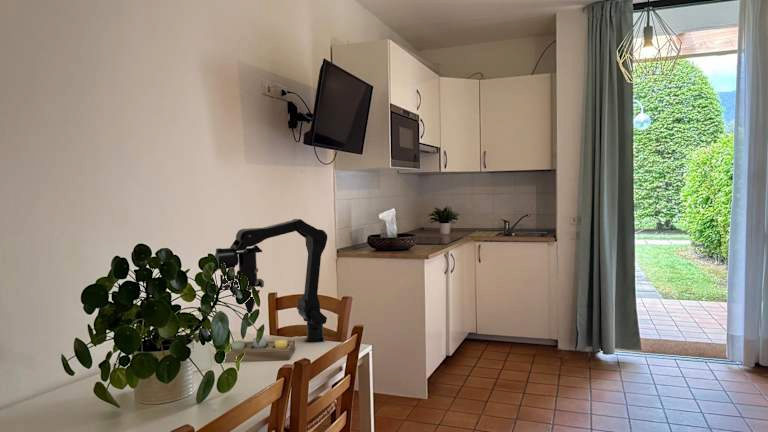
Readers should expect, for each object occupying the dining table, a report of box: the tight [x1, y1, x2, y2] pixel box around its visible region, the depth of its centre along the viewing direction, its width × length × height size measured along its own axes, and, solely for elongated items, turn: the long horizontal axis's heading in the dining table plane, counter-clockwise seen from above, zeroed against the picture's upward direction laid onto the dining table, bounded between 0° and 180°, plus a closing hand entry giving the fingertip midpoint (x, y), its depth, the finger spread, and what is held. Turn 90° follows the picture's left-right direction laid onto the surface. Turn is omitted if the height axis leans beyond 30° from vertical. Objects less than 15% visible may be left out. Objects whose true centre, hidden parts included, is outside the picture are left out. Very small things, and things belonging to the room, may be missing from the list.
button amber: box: [274, 338, 288, 348], centre depth 175 cm, size 4×4×4 cm
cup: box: [192, 312, 212, 372], centre depth 164 cm, size 8×8×16 cm
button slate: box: [252, 337, 267, 349], centre depth 175 cm, size 4×4×4 cm
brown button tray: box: [224, 339, 296, 363], centre depth 175 cm, size 12×21×3 cm, turn 90°
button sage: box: [231, 340, 245, 349], centre depth 175 cm, size 4×4×4 cm
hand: (249, 313), depth 179 cm, fingers closed
